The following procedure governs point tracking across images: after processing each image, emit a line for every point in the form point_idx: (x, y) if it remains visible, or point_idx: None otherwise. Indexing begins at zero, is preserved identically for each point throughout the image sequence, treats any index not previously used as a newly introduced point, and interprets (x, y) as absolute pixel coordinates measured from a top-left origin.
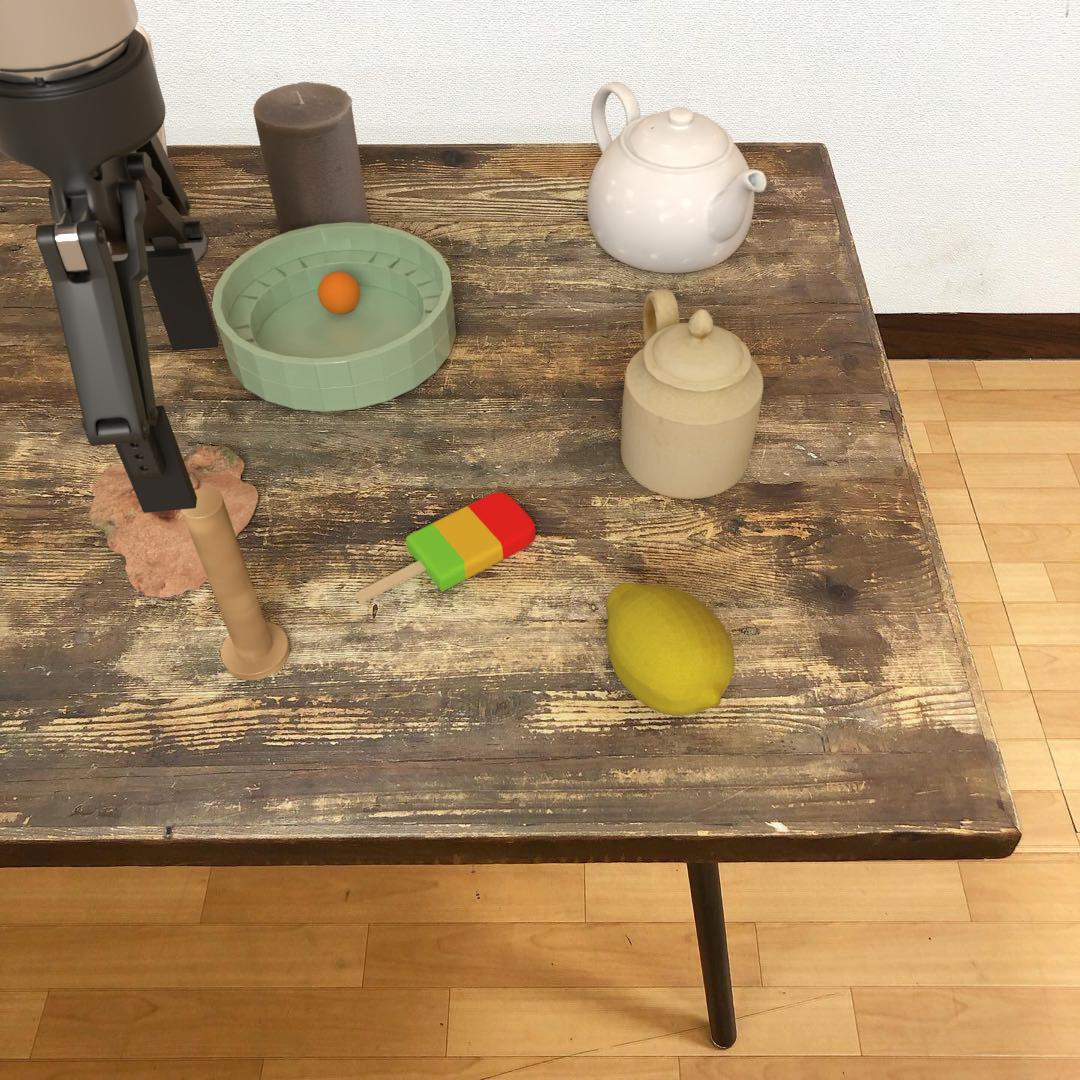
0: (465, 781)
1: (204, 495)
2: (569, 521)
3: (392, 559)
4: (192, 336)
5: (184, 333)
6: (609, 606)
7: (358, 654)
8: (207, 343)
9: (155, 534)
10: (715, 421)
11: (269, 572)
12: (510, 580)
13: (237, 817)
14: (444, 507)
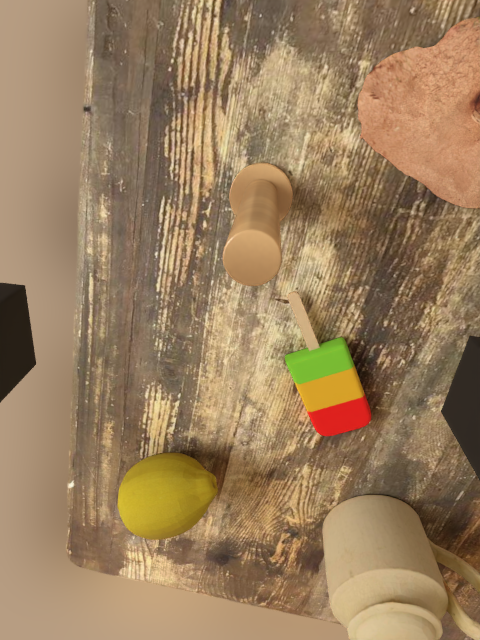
0: (113, 339)
1: (265, 263)
2: (332, 449)
3: (337, 322)
4: (466, 396)
5: (475, 389)
6: (196, 481)
7: None
8: (449, 404)
9: (456, 86)
10: (332, 602)
11: (359, 212)
12: (285, 400)
13: (95, 171)
14: (383, 370)
